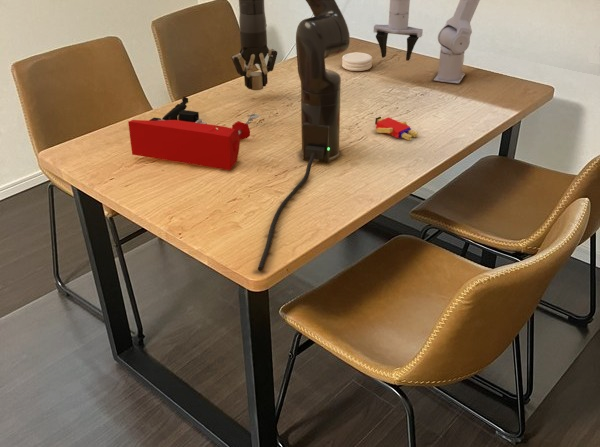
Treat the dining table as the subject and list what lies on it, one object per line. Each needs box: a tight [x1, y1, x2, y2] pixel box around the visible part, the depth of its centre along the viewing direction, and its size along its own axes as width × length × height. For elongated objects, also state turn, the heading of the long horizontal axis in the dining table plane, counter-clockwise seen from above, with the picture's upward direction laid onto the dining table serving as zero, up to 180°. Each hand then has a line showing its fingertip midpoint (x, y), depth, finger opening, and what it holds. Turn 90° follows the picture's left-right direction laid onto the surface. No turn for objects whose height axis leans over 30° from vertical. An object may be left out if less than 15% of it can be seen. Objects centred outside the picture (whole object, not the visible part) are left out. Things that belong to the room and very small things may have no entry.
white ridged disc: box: [341, 52, 373, 72], centre depth 207 cm, size 10×10×4 cm
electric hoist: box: [127, 96, 260, 171], centre depth 159 cm, size 10×27×30 cm
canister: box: [250, 71, 264, 92], centre depth 182 cm, size 4×4×4 cm
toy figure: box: [374, 116, 418, 141], centre depth 162 cm, size 2×7×12 cm
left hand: (256, 86), depth 183 cm, fingers closed on canister, 4 cm apart
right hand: (395, 58), depth 189 cm, fingers open, 7 cm apart
